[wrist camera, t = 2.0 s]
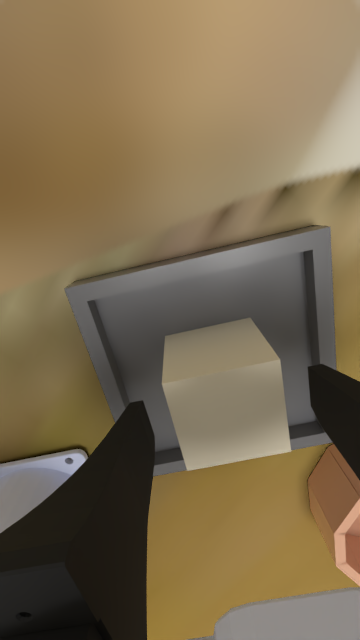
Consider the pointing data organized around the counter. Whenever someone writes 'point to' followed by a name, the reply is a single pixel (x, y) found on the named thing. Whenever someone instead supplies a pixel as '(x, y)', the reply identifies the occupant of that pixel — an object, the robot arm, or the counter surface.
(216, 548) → the counter surface
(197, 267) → the parts tray
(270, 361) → the cream cube block
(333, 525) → the bowl
